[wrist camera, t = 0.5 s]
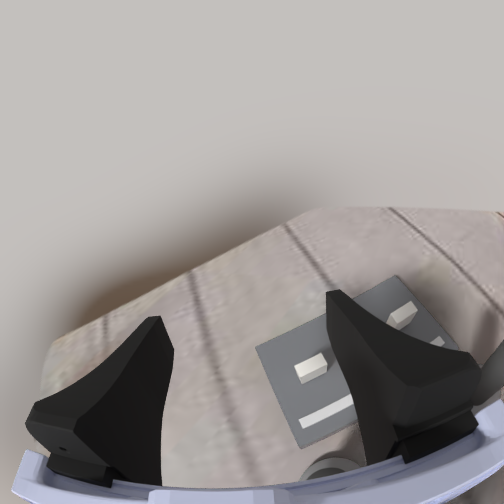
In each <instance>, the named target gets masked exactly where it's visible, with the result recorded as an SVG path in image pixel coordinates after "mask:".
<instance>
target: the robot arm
mask: <svg viewBox="0 0 504 504" xmlns="http://www.w3.org/2000/svg"><path fill="white" fill-rule="evenodd" d="M326 329H327V333H328V336H329V340H330V343H331V347H332V350H333V352H334V354H335V357H336V359H337V361H338V364H339V366H340V368H341V371H342V373H343V375H344V378H345V380H346V382H347V385H348V387H349V390H350V393H351V396H352V399H353V403H354V406H355V410H356V414H357V418H358V422H359V426H360V430H361V435H362V440H363V444H364V449H365V455H366V460H367V466H366V467H362V468H359V469H355V470H352V471H348V472H344V473H340V474H335V475H331V476H326V477H321V478H316V479H311V480H305V481H299V482H293V483H286V484H278V485H269V486H259V487H245V488H217V489H207V488H179V487H165V486H162V477H161V430H162V417H163V411H164V405H165V401H166V396H167V392H168V387H169V383H170V379H171V374H172V369H173V360H174V348H173V345H172V343H171V341H170V338H169V336H168V333H167V331H166V328H165V326H164V323H163V321H162V318H161V316H152V317H148V318H146V319H145V320H144V321H143V322H142V323H141V324H140V325H139V326H138V328H137V329H136V330H135V331H134V332H133V333H132V334H131V335H130V336H129V337H128V338H127V339H126V340H125V341H124V342H123V343H122V344H121V345H120V346H119V347H118V348H117V349H116V350H115V351H114V352H113V353H112V354H111V355H110V356H109V357H108V358H107V359H106V360H105V361H104V362H102V363H101V364H100V365H99V366H98V367H96V368H95V369H94V370H93V371H91V372H90V373H89V374H87V375H86V376H84V377H83V378H81V379H80V380H78V381H77V382H75V383H74V384H72V385H71V386H69V387H67V388H65V389H63V390H62V391H60V392H58V393H56V394H54V395H51V396H49V397H47V398H44V399H42V400H40V401H37V402H35V403H34V406H33V407H32V409H31V412H30V414H29V416H28V418H27V420H26V422H25V425H26V428H27V430H28V431H29V433H30V434H31V435H32V436H33V437H34V438H35V439H36V440H37V441H38V442H39V443H40V444H42V445H43V446H44V447H45V448H46V449H47V450H48V451H49V452H51V454H50V457H49V458H48V457H46V456H45V455H43V454H40V453H37V452H34V451H31V450H28V449H26V451H25V454H24V456H23V459H22V461H21V464H20V466H19V469H18V472H17V475H16V477H15V480H14V483H13V486H12V489H11V490H12V492H13V493H15V494H17V495H18V496H19V497H21V498H23V499H24V500H26V501H27V502H29V503H31V504H444V503H446V502H448V501H450V500H452V499H453V498H455V497H457V496H459V495H460V494H462V493H464V492H466V491H467V490H469V489H471V488H472V487H474V486H475V485H477V484H478V483H480V482H482V481H483V480H485V479H486V478H488V477H489V476H491V475H492V474H494V473H495V472H496V471H498V470H499V469H500V468H501V467H502V466H503V465H504V403H503V401H502V400H501V399H498V400H496V401H495V402H493V403H492V404H490V405H488V406H487V407H485V408H483V409H482V410H480V411H479V412H478V413H476V414H475V415H473V413H472V411H471V410H472V408H473V404H472V402H471V401H470V398H471V396H472V395H473V393H474V391H475V390H476V388H477V386H478V384H479V382H480V380H481V376H482V370H481V368H480V367H479V365H478V364H477V363H476V361H475V360H474V359H473V357H472V356H471V355H470V354H469V353H468V352H463V351H458V350H453V349H448V348H444V347H440V346H437V345H433V344H430V343H427V342H424V341H422V340H419V339H417V338H414V337H412V336H410V335H407V334H405V333H403V332H401V331H399V330H397V329H395V328H393V327H392V326H390V325H388V324H386V323H385V322H383V321H382V320H380V319H378V318H377V317H375V316H374V315H372V314H371V313H370V312H368V311H367V310H365V309H364V308H363V307H361V306H360V305H359V304H357V303H356V302H355V301H354V300H352V299H351V298H350V297H349V296H347V295H346V294H345V293H344V292H342V291H341V290H340V289H339V290H334V291H329V292H326Z"/></svg>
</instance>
